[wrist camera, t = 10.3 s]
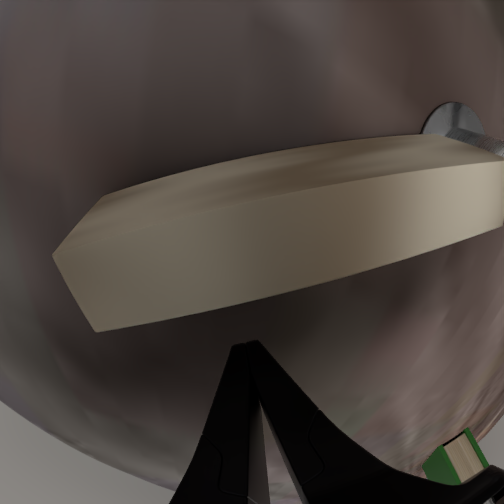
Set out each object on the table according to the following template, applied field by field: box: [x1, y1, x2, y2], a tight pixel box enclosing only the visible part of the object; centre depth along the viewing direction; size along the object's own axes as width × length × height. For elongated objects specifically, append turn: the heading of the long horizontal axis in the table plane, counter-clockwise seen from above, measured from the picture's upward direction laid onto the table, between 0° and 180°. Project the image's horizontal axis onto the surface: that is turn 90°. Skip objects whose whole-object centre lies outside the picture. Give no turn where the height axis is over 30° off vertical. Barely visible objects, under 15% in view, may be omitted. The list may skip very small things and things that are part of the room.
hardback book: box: [422, 427, 489, 485], centre depth 30 cm, size 18×7×24 cm, turn 18°
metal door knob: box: [421, 102, 504, 157], centre depth 7 cm, size 4×4×4 cm
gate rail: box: [52, 134, 504, 332], centre depth 7 cm, size 11×2×4 cm, turn 100°
